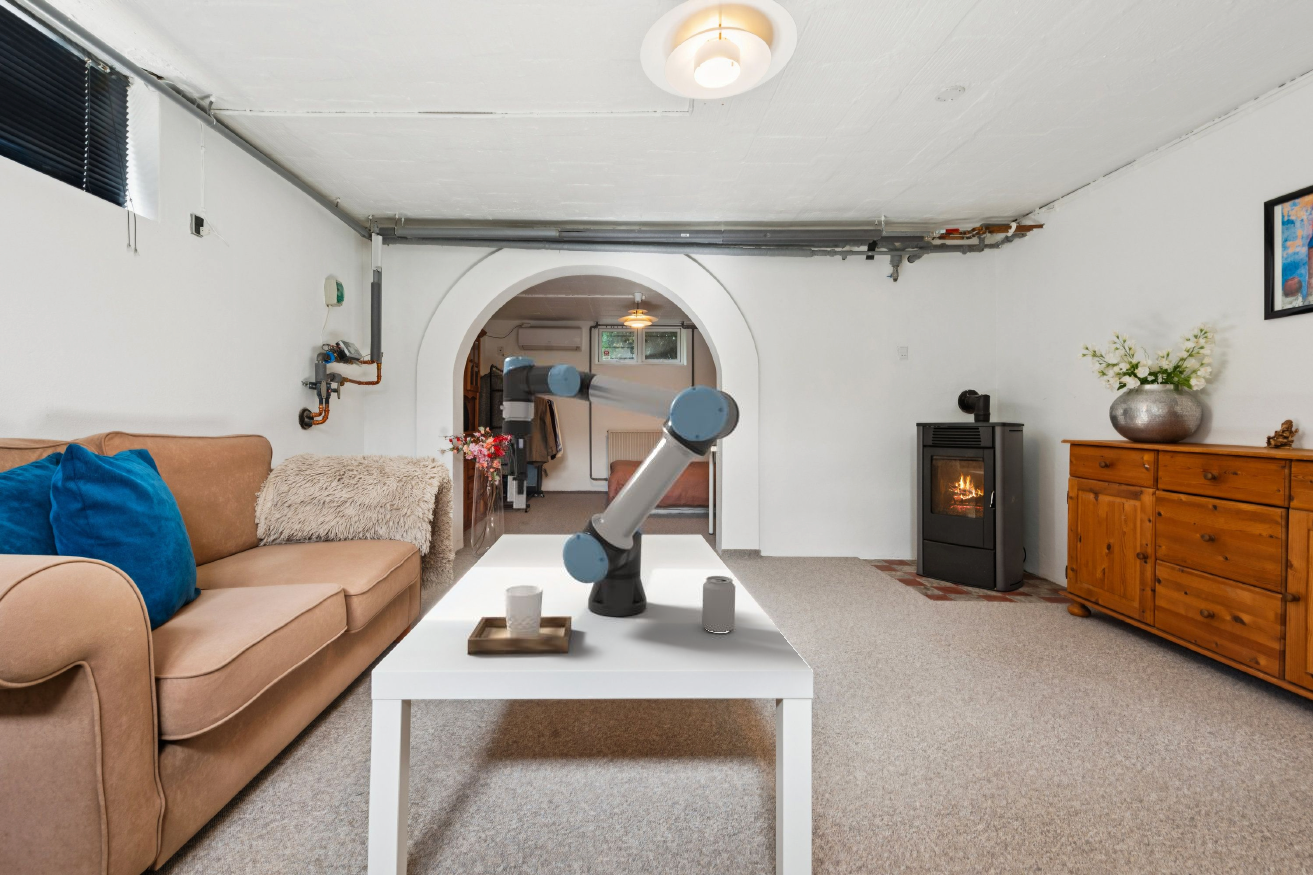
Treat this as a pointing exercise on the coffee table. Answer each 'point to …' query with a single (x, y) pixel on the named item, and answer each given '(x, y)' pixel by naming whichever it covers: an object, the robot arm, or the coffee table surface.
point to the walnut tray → (495, 641)
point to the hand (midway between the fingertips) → (516, 504)
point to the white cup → (523, 610)
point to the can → (718, 604)
